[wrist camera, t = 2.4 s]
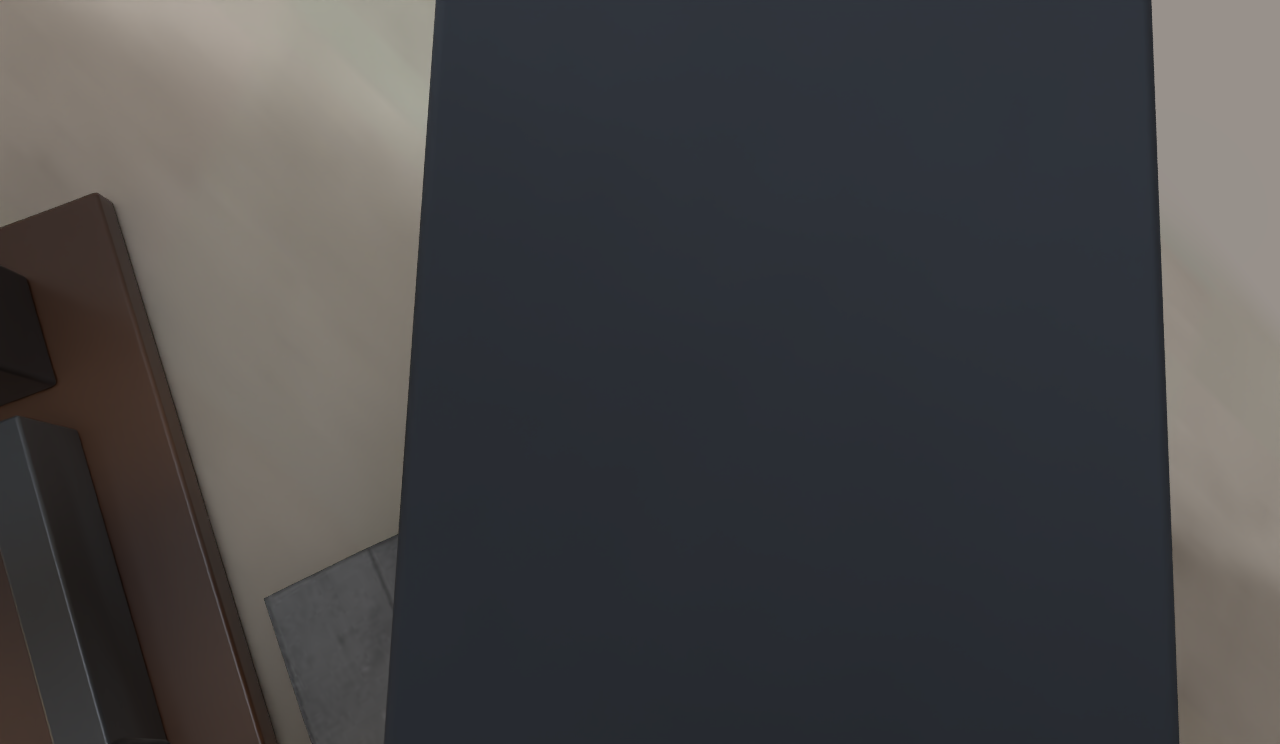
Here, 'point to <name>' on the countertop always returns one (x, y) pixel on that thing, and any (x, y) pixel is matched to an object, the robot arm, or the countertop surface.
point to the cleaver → (340, 644)
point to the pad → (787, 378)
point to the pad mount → (103, 512)
